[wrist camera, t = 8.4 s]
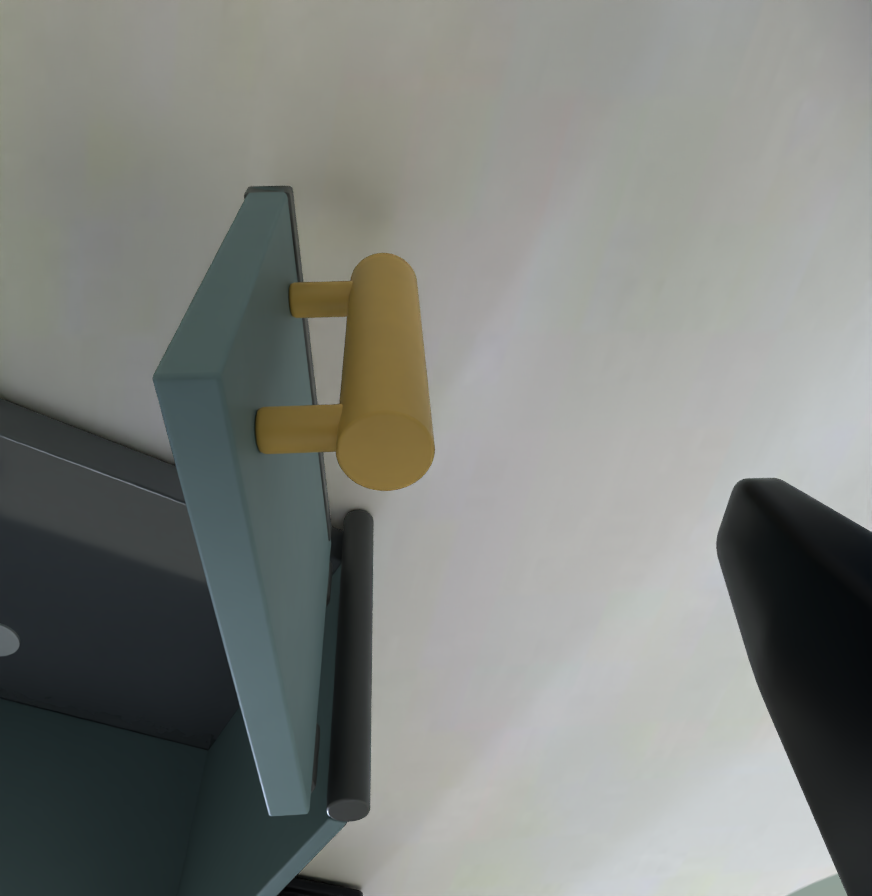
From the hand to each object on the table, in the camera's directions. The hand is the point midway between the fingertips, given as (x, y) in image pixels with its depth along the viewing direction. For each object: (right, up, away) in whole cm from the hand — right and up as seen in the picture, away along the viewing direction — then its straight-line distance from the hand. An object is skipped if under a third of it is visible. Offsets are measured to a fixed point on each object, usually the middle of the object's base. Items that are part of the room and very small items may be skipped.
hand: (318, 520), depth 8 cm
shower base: (-8, -3, +13) cm, 15 cm away
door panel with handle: (-1, +2, +8) cm, 8 cm away
